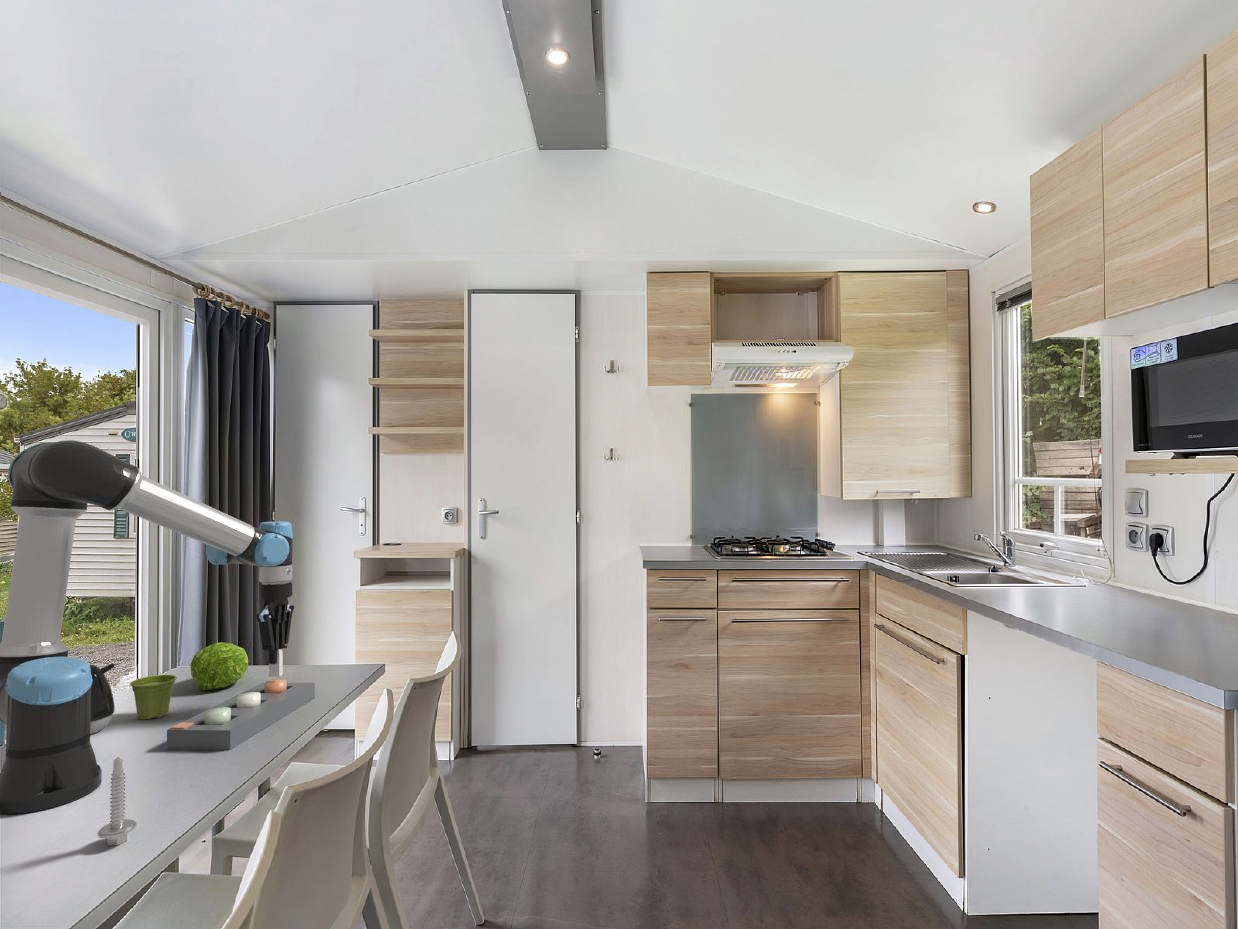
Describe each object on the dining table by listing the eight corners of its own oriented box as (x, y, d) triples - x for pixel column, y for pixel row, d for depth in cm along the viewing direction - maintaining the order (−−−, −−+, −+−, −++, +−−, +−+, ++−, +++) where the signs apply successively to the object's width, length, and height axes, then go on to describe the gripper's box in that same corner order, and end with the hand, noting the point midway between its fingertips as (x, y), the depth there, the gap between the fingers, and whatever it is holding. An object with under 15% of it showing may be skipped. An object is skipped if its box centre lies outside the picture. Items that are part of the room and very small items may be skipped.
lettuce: (265, 650, 202) (223, 629, 199) (251, 659, 181) (203, 635, 179) (238, 690, 198) (195, 668, 196) (220, 704, 178) (171, 680, 175)
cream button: (252, 714, 154) (252, 698, 154) (231, 714, 154) (231, 698, 155) (265, 707, 159) (265, 692, 159) (245, 707, 159) (245, 692, 160)
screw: (109, 835, 105) (142, 832, 106) (89, 851, 100) (125, 848, 101) (110, 752, 106) (143, 750, 106) (91, 764, 101) (126, 762, 101)
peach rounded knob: (279, 699, 165) (279, 684, 165) (260, 699, 165) (260, 684, 166) (290, 693, 170) (290, 678, 170) (271, 693, 170) (271, 678, 171)
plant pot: (185, 709, 166) (186, 674, 166) (155, 723, 156) (156, 686, 157) (151, 709, 167) (151, 674, 167) (119, 722, 157) (119, 685, 157)
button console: (230, 749, 139) (230, 729, 139) (166, 749, 140) (166, 728, 140) (314, 698, 173) (314, 681, 173) (263, 698, 174) (263, 681, 174)
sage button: (220, 732, 143) (221, 715, 143) (198, 732, 144) (198, 714, 144) (235, 724, 148) (235, 707, 148) (214, 723, 148) (214, 707, 149)
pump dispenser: (123, 729, 152) (123, 662, 153) (66, 744, 144) (67, 673, 144) (105, 721, 158) (105, 656, 158) (50, 735, 149) (50, 667, 150)
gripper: (275, 586, 162) (275, 683, 161) (304, 578, 175) (304, 668, 174) (245, 586, 163) (245, 683, 162) (276, 578, 176) (276, 668, 175)
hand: (275, 675), depth 168 cm, fingers closed
